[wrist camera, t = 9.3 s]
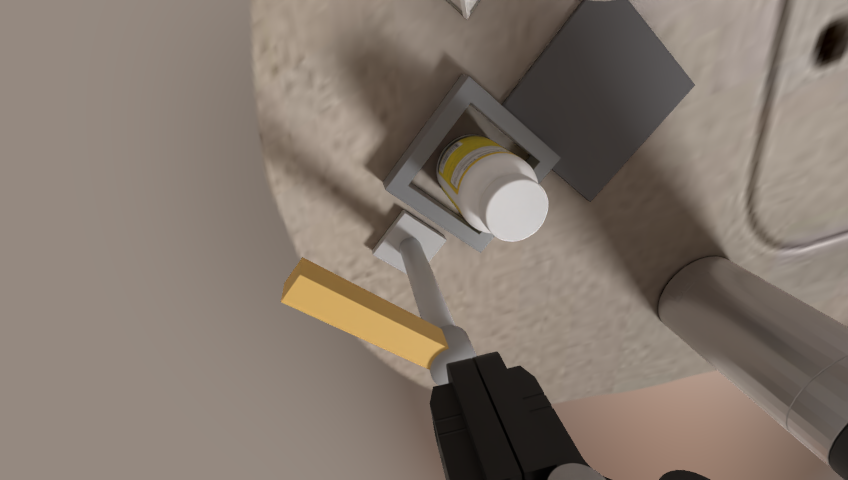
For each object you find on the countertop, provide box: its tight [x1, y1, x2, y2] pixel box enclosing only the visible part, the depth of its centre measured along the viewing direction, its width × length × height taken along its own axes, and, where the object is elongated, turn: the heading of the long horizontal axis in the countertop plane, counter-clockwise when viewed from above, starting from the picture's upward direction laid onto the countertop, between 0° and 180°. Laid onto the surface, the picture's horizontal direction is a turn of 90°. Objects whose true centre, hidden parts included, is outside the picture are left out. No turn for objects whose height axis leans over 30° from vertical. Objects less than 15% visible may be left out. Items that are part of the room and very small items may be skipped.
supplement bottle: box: [437, 134, 548, 242], centre depth 29 cm, size 5×5×10 cm
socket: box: [372, 74, 560, 327], centre depth 28 cm, size 10×15×13 cm, turn 142°
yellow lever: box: [281, 257, 477, 385], centre depth 21 cm, size 11×3×2 cm, turn 52°
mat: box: [502, 0, 695, 202], centre depth 32 cm, size 12×12×1 cm
